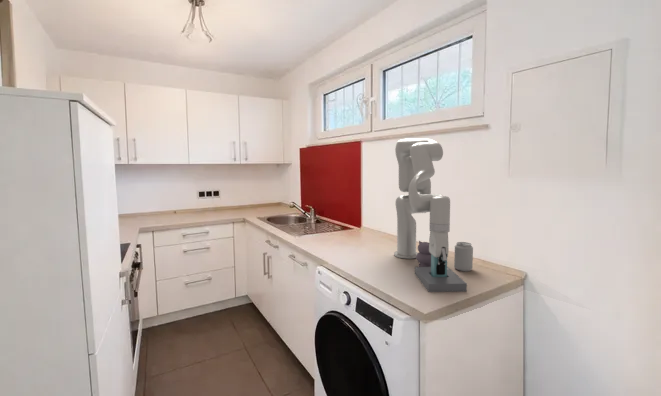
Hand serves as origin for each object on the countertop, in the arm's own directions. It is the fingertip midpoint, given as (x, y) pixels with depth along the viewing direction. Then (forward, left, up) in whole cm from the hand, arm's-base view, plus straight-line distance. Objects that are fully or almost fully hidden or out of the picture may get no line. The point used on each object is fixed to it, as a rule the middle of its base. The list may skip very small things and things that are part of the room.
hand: (438, 272), depth 126 cm
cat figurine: (-18, 0, -4) cm, 18 cm away
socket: (0, 0, -4) cm, 4 cm away
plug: (0, 0, -3) cm, 3 cm away
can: (-15, +16, -4) cm, 22 cm away
